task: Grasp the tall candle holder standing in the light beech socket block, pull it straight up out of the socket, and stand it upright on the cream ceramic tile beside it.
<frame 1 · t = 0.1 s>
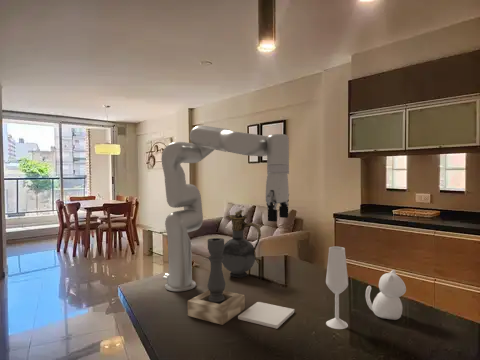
hand: (278, 219, 121), 31 cm above the kitchen counter, tool pointing down, fingers open, 9 cm apart
ceramic tile: (266, 315, 116), on the kitchen counter
pitcher: (241, 276, 159), on the kitchen counter
champagne flute: (337, 324, 109), on the kitchen counter
candle holder: (216, 312, 119), resting in socket block
socket block: (216, 312, 119), on the kitchen counter
cat figurine: (384, 316, 115), on the kitchen counter
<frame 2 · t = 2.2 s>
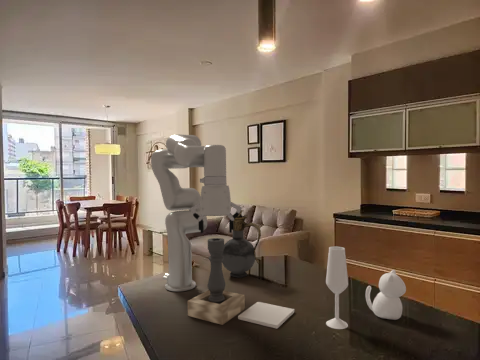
hand: (216, 232, 118), 28 cm above the kitchen counter, tool pointing down, fingers open, 9 cm apart
nothing on the kitchen counter moved.
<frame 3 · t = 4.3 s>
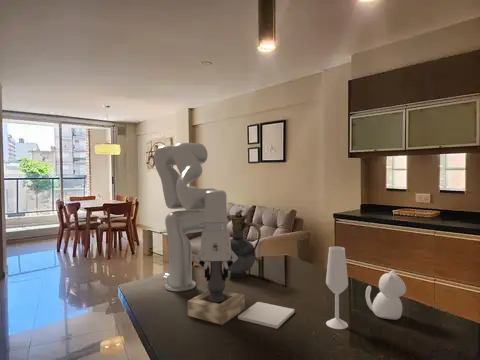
hand: (216, 279, 119), 11 cm above the kitchen counter, tool pointing down, fingers closed on candle holder, 5 cm apart
candle holder: (216, 312, 119), resting in socket block, touching gripper
everything else where it was.
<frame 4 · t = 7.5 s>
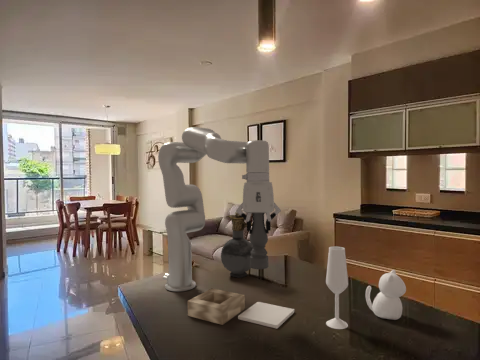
hand: (258, 232, 116), 28 cm above the kitchen counter, tool pointing down, fingers closed on candle holder, 5 cm apart
candle holder: (259, 267, 116), point 16 cm above the kitchen counter, touching gripper
everything else where it was.
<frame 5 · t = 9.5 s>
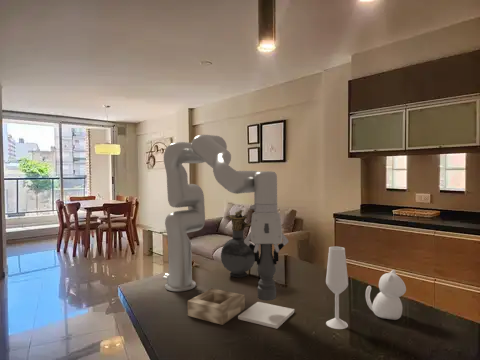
hand: (266, 262, 115), 18 cm above the kitchen counter, tool pointing down, fingers closed on candle holder, 5 cm apart
candle holder: (266, 297, 116), point 6 cm above the kitchen counter, touching gripper
everything else where it was.
when the fingers open (14 cm above the kitchen counter, at t = 11.1 s): candle holder drops 1 cm, resting on ceramic tile.
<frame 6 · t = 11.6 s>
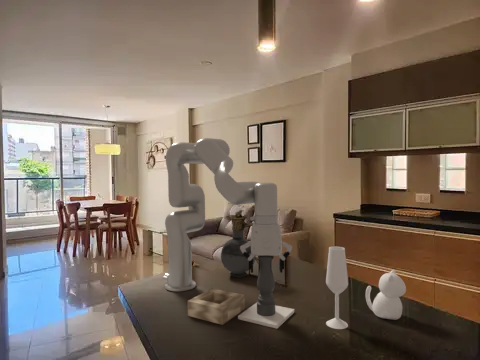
hand: (266, 271, 116), 15 cm above the kitchen counter, tool pointing down, fingers open, 9 cm apart
candle holder: (266, 312, 116), point 1 cm above the kitchen counter, touching ceramic tile
everything else where it was.
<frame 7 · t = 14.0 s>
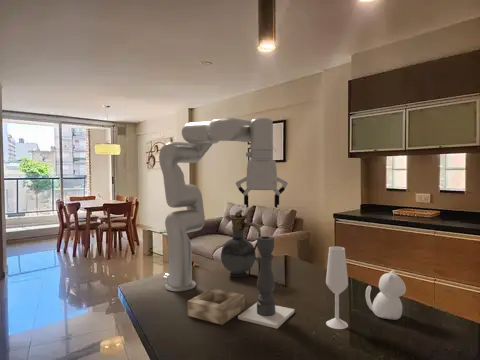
hand: (261, 207, 117), 36 cm above the kitchen counter, tool pointing down, fingers open, 9 cm apart
nothing on the kitchen counter moved.
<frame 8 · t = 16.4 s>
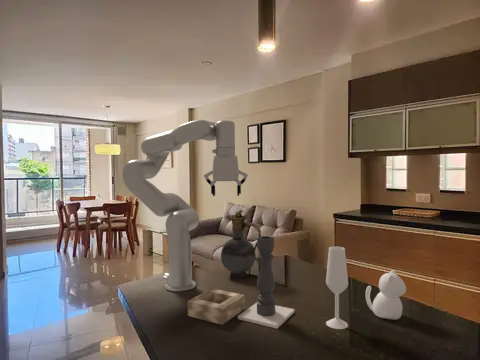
hand: (226, 195, 138), 38 cm above the kitchen counter, tool pointing down, fingers open, 9 cm apart
nothing on the kitchen counter moved.
at the end: candle holder inside the target area on the ceramic tile (0.3 cm from its centre), point 0.8 cm above the ceramic tile's base; candle holder tilted 0°; the gripper is holding nothing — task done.
